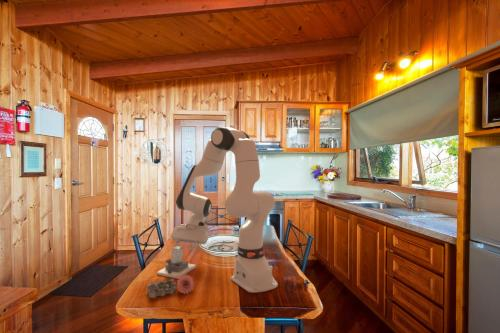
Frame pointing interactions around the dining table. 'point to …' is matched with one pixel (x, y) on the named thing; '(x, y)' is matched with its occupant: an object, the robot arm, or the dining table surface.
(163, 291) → the egg carton
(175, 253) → the end link
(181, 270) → the keeper board
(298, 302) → the dining table surface
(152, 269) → the dining table surface
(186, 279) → the flower
